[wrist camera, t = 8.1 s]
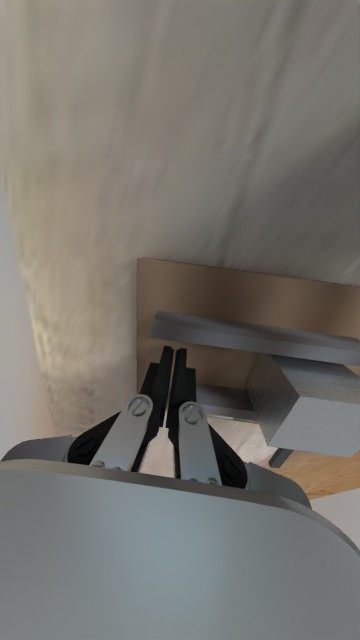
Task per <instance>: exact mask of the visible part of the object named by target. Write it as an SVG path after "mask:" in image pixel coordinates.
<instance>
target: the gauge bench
mask: <svg viewBox="0 0 360 640" xmlns="http://www.w3.org/2000/svg"><path fill="white" fill-rule="evenodd" d="M164 346H171V347H172V349H174V355H173V363H172V371H171V378H170V385H169V391H168V397H167V403H166V410H165V411H168V405H169V397H170V390H171V384H172V377H173V370H174V363H175V357H176V350H177V349H178V350H179V349H180V348H185V349H187V361H186V367H188V368H195V369H196V399H197V403H198V404H199V405H201V406H202V408H203V409H204V411H205V413H206V417H213V418H220V419H227V420H234V421H241V422H248V423H255V424H259V422H258V419H257V417H256V414H255V412H254V409H253V406H252V404H251V401H250V398H249V396H248V393H247V391H246V388H245V386H246V384H247V382H248V379H249V377H250V375H251V372H252V370H253V367H254V365H255V363H256V360H257V358H258V356H259V353H266V354H273V355H280V356H288V357H295V358H302V359H309V360H317V361H324V362H331V363H338V364H344V365H345V366H346V367H348V368H349V369H350V370H352V371H353V372H354V373H355V374H357V375H358V376H359V377H360V287H358V286H351V285H343V284H336V283H328V282H321V281H314V280H306V279H299V278H291V277H284V276H276V275H269V274H262V273H254V272H247V271H239V270H232V269H224V268H217V267H210V266H202V265H195V264H187V263H180V262H172V261H165V260H158V259H150V258H143V257H141V258H137V395H139V393H140V390H141V388H142V385H143V382H144V379H145V376H146V373H147V371H148V368H149V365H150V363H151V362H153V363H160V359H161V356H162V352H163V348H164Z"/></svg>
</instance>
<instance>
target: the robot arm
mask: <svg viewBox="0 0 360 640" xmlns="http://www.w3.org/2000/svg"><path fill="white" fill-rule="evenodd" d="M173 355H174V349H172V347H171V346H164V348H163V352H162V356H161V359H160V363H153V362H151V363H150V365H149V368H148V371H147V373H146V376H145V379H144V382H143V385H142V388H141V390H140V393H139V395H135V396H133V397H131V398H130V399H129V400H128V401H127V402H126V404H125V406H124V407H123V409H122V411H120V412H119V413H117V414H115V415H113V416H112V417H110V418H108V419H107V420H105V421H103V422H101V423H100V424H98V425H96V426H95V427H93V428H91V429H89V430H88V431H86V432H84V433H83V434H81V435H80V436H78V437H72V436H63V437H53V438H44V439H36V440H28V441H24V442H21V443H20V444H18V445H16V446H14V447H13V448H12V449H11V450H9V451H8V452H7V454H6V455H5V456H4V457H3V458H2V460H1V461H0V640H360V550H359V548H358V547H357V546H356V545H355V544H354V543H353V541H352V540H351V539H350V538H349V537H348V536H347V535H346V534H344V533H343V532H342V531H341V530H340V529H339V528H338V527H336V526H335V525H334V524H332V523H331V522H330V521H329V520H327V519H325V518H324V517H323V516H321V515H320V514H318V513H317V512H315V511H313V510H312V508H311V505H310V502H309V500H308V497H307V496H306V494H305V493H304V491H303V490H302V488H301V487H300V486H299V485H298V484H297V483H296V482H294V481H292V480H291V479H289V478H287V477H284V476H282V475H279V474H277V473H275V472H272V471H270V470H268V469H265V468H263V467H261V466H258V465H256V464H254V463H251V462H249V463H246V462H244V461H242V460H241V458H240V457H239V456H238V455H237V454H236V453H235V452H234V450H233V449H232V448H231V447H230V446H229V445H228V444H227V443H226V442H225V441H224V440H223V439H222V438H221V436H220V435H219V434H218V433H217V432H216V431H215V430H214V429H213V428H212V427H211V426H210V425H209V424H208V422H207V417H206V413H205V411H204V409H203V408H202V406H201V405H199V404H198V403H197V399H196V369H195V368H188V367H186V361H187V349H185V348H180V349H179V350H178V349H177V350H176V357H175V363H174V370H173V377H172V384H171V390H170V397H169V405H168V412H167V420H166V427H165V428H169V432H168V438H169V439H170V441H171V442H172V444H173V472H174V478H170V477H163V476H156V475H150V474H143V473H140V471H141V468H142V465H143V462H144V459H145V456H146V453H147V451H148V448H149V445H150V441H151V440H152V439H153V438H155V437H156V436H157V433H158V431H159V427H163V422H164V416H165V410H166V403H167V397H168V391H169V385H170V378H171V371H172V363H173Z"/></svg>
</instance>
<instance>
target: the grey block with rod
mask: <svg viewBox="0 0 360 640" xmlns="http://www.w3.org/2000/svg"><path fill="white" fill-rule="evenodd" d="M245 388H246V391H247V393H248V396H249V398H250V401H251V404H252V406H253V409H254V412H255V414H256V417H257V419H258V422H259V425H260V427H261V430H262V433H263V435H264V438H265V441H266V443H267V446H271V447H278V449H277V451H276V452H275V454H274V455H273V456H272V458H271V459H270V461H269V465H270V467H274V468H280V466H281V465H282V464H283V463H284V462H285V460H286V459H287V458H288V457H289V455H290V454H291V453H292V452H293V450H299V451H306V452H313V453H320V454H327V455H334V456H341V457H348V458H350V457H351V456H352V455H354V454H355V453H356V452H357V451H358V450H359V449H360V377H359V376H358V375H357V374H355V373H354V372H353V371H352V370H350V369H349V368H348V367H346V366H345V365H344V364H338V363H331V362H324V361H317V360H309V359H302V358H295V357H288V356H280V355H273V354H266V353H259V356H258V358H257V360H256V363H255V365H254V367H253V370H252V372H251V375H250V377H249V379H248V382H247V384H246V386H245Z"/></svg>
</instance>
